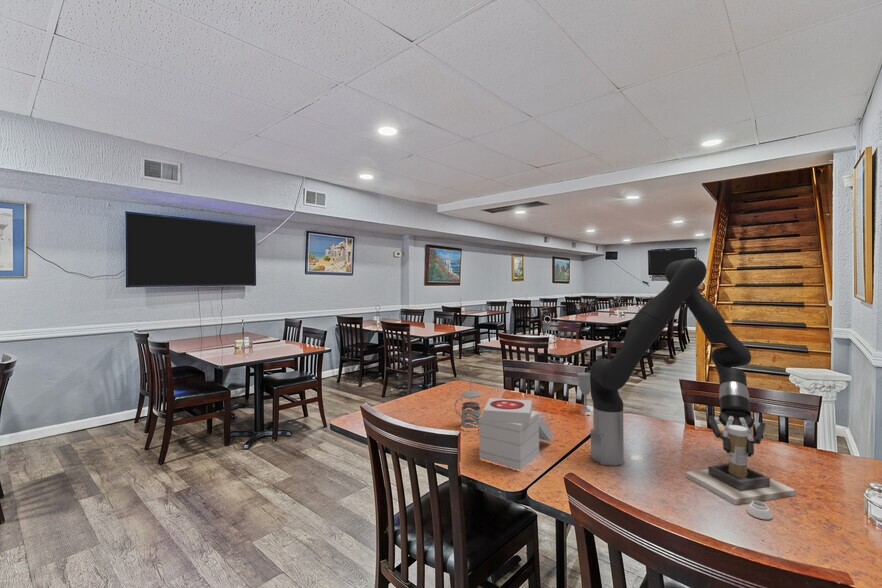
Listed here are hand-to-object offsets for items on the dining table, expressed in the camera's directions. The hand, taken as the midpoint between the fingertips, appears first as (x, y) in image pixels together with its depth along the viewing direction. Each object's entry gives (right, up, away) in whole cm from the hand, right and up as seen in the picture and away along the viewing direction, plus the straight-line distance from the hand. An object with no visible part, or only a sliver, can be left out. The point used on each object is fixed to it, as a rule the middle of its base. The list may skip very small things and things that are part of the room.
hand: (738, 453), depth 113 cm
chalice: (-19, -9, +68) cm, 71 cm away
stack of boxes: (-58, -11, +27) cm, 65 cm away
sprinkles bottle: (+1, -7, +2) cm, 7 cm away
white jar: (-4, -11, -13) cm, 17 cm away
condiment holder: (+1, -10, +2) cm, 10 cm away
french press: (-73, -10, +52) cm, 90 cm away
